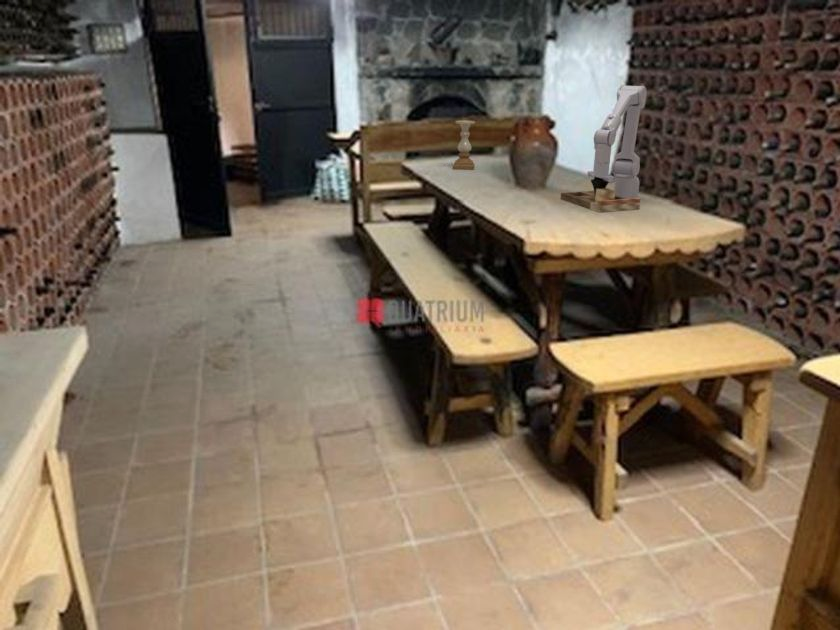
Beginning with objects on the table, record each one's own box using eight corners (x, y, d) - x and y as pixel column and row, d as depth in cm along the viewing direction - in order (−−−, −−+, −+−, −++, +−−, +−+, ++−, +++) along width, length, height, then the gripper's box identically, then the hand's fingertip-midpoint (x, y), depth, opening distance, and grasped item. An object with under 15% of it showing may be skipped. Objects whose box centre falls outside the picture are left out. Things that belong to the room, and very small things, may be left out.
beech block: (605, 200, 251) (607, 187, 249) (613, 203, 246) (615, 190, 245) (594, 201, 249) (596, 188, 247) (602, 204, 245) (604, 190, 243)
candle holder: (454, 166, 350) (455, 120, 342) (474, 166, 349) (476, 120, 340) (453, 169, 340) (454, 121, 331) (474, 169, 339) (475, 122, 330)
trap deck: (597, 196, 273) (598, 186, 271) (639, 209, 249) (640, 198, 248) (560, 199, 267) (561, 189, 265) (599, 212, 243) (600, 201, 242)
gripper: (582, 160, 251) (578, 195, 256) (604, 165, 239) (600, 202, 244) (597, 159, 254) (593, 194, 259) (620, 164, 241) (616, 201, 246)
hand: (598, 198), depth 251 cm, fingers closed
